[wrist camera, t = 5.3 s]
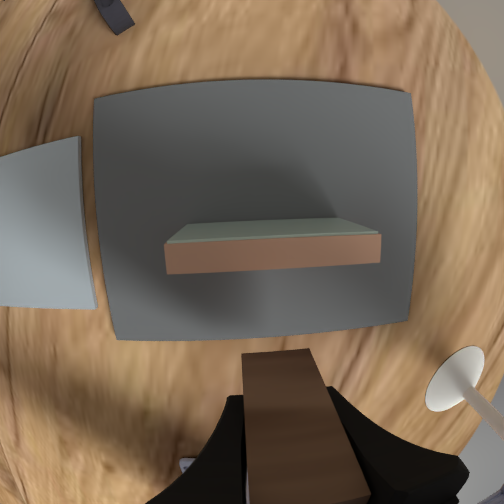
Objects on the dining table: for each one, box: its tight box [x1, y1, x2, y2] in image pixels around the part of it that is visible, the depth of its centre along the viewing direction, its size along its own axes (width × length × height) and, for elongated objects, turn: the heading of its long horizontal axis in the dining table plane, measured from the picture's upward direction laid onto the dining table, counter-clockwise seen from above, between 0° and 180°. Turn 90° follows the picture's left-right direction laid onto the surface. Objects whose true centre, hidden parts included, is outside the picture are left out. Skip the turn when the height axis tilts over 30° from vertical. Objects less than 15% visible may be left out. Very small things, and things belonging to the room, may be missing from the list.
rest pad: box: [0, 136, 98, 309], centre depth 15 cm, size 10×10×1 cm
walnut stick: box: [242, 348, 371, 504], centre depth 9 cm, size 3×3×8 cm
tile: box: [164, 218, 381, 274], centre depth 13 cm, size 1×8×5 cm, turn 92°
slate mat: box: [93, 80, 417, 341], centre depth 16 cm, size 14×18×1 cm
